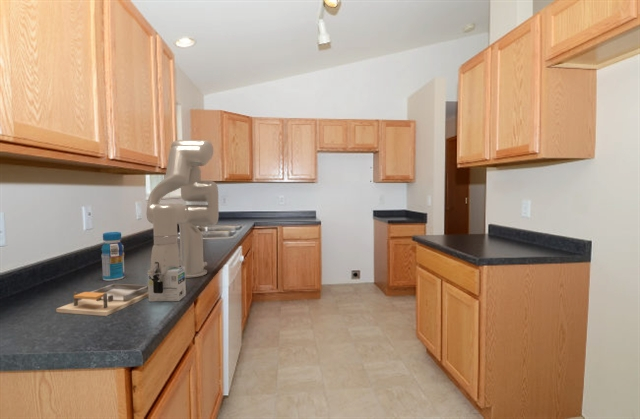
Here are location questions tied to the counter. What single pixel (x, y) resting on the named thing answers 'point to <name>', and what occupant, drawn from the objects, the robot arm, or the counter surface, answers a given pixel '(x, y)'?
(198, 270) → the robot arm
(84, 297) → the latch plate
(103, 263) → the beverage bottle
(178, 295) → the light bulb box
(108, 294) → the rail mount
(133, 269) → the counter surface
